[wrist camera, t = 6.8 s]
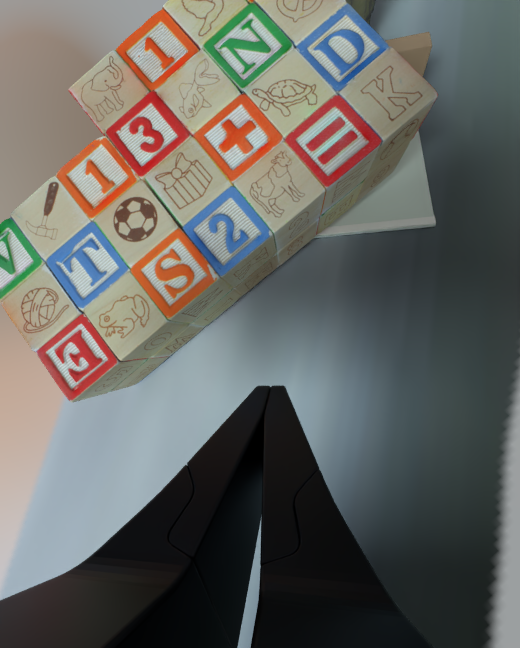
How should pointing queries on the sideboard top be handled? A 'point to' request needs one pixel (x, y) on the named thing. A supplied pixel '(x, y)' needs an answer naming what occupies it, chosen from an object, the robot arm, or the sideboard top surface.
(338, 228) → the dock pad
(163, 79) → the stack of blocks
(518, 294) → the sideboard top surface
